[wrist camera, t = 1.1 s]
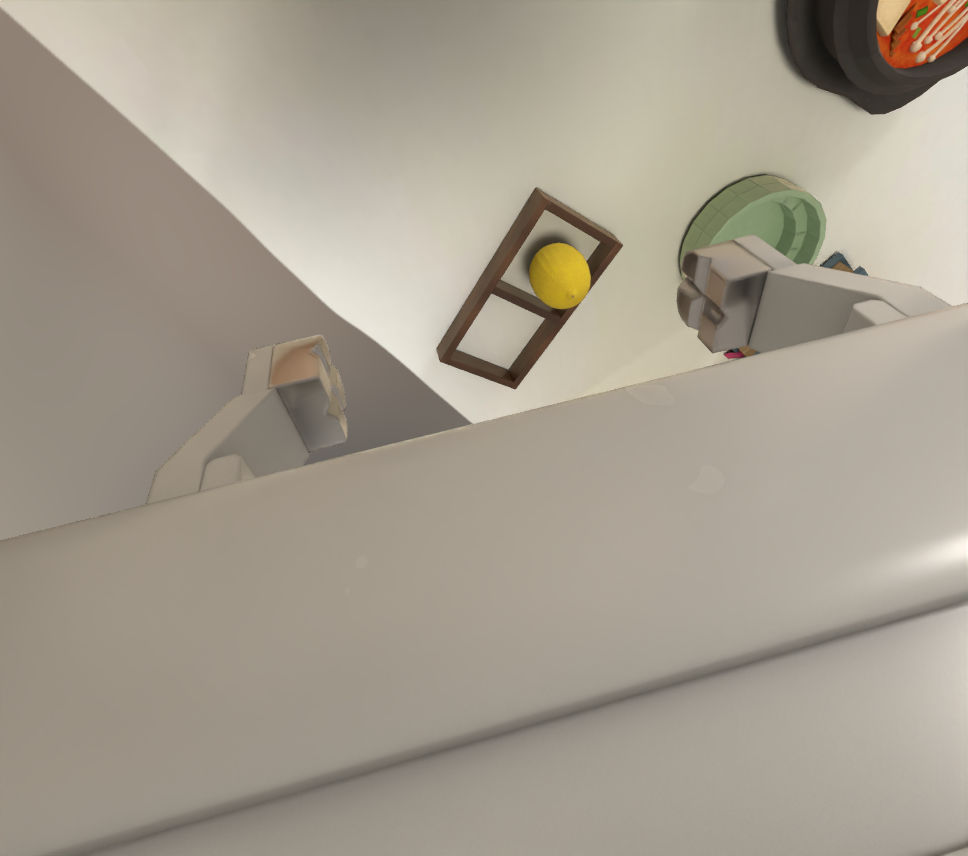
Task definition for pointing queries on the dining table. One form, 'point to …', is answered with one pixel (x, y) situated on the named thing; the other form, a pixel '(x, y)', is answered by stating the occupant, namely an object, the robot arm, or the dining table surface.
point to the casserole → (878, 47)
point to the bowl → (762, 218)
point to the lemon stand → (522, 293)
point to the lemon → (560, 276)
